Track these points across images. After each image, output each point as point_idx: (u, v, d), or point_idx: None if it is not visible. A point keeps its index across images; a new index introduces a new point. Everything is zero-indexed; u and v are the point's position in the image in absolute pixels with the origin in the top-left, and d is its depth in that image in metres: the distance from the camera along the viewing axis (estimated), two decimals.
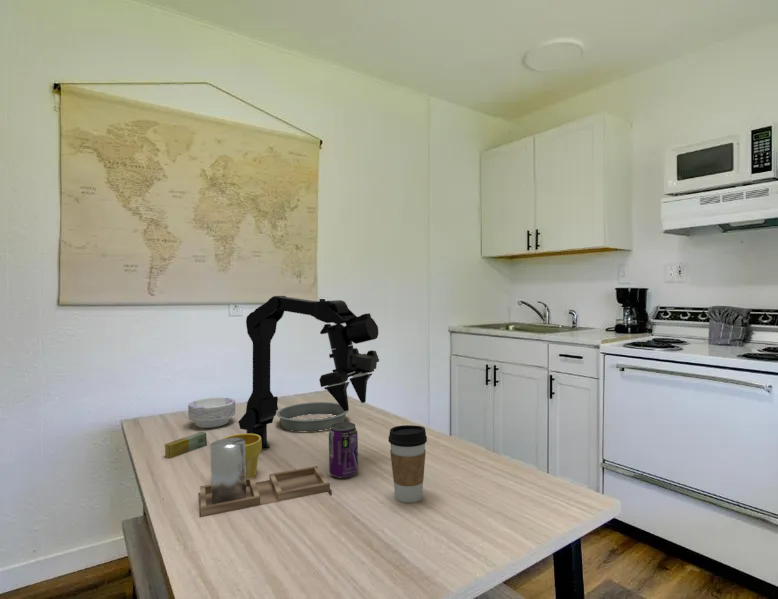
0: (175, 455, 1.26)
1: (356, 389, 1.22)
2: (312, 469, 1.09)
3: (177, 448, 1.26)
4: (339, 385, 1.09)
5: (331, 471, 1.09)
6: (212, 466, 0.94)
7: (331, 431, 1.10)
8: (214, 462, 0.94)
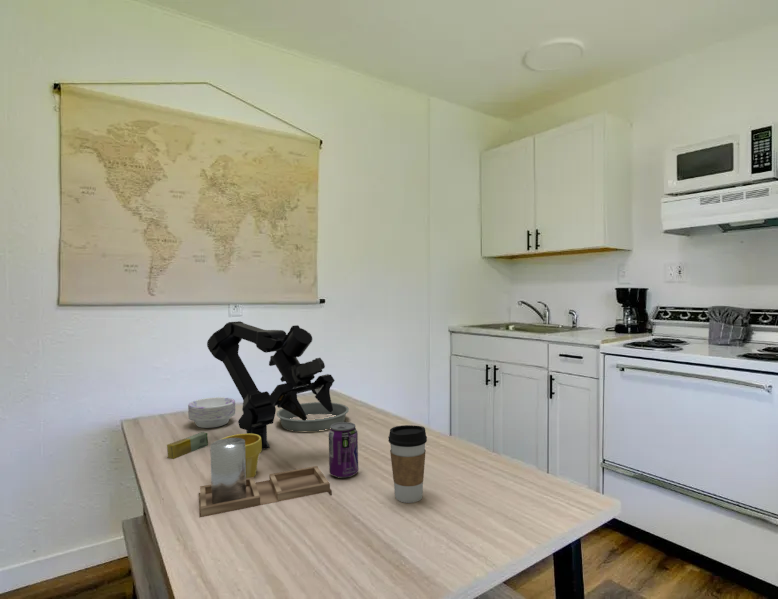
0: (178, 455, 1.25)
1: (322, 402, 1.22)
2: (312, 469, 1.09)
3: (180, 448, 1.26)
4: (285, 396, 1.12)
5: (331, 471, 1.09)
6: (212, 466, 0.94)
7: (331, 431, 1.10)
8: (214, 462, 0.94)
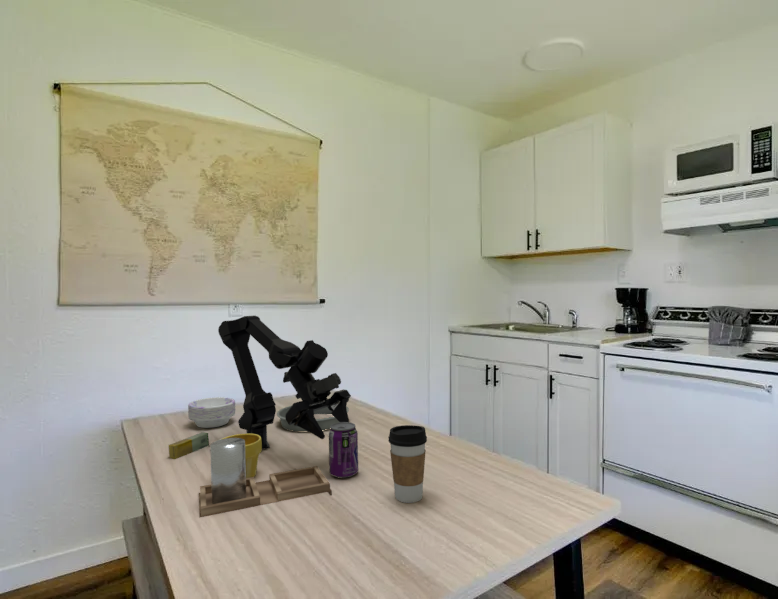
0: (179, 456, 1.25)
1: (339, 419, 1.18)
2: (312, 469, 1.09)
3: (181, 449, 1.26)
4: (302, 414, 1.08)
5: (331, 471, 1.09)
6: (212, 466, 0.94)
7: (331, 431, 1.10)
8: (214, 462, 0.94)
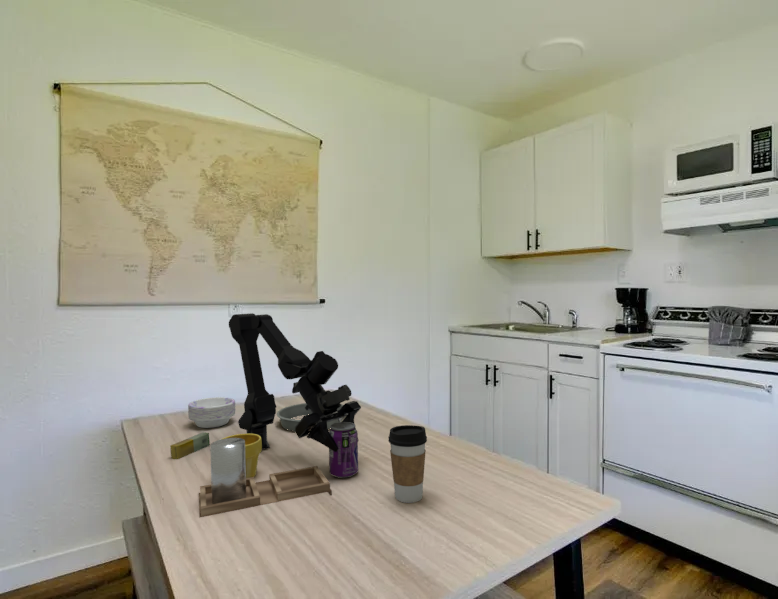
0: (181, 456, 1.25)
1: None
2: (312, 469, 1.09)
3: (183, 449, 1.26)
4: (315, 426, 1.07)
5: (331, 471, 1.09)
6: (212, 466, 0.94)
7: (331, 431, 1.10)
8: (214, 462, 0.94)
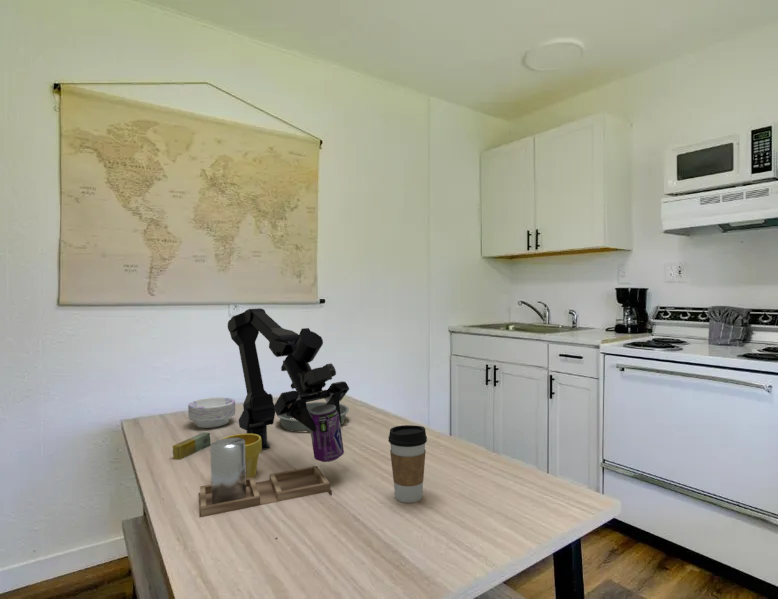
0: (184, 456, 1.25)
1: None
2: (312, 469, 1.09)
3: (186, 449, 1.25)
4: (293, 404, 1.04)
5: (314, 455, 1.06)
6: (212, 466, 0.94)
7: (310, 415, 1.06)
8: (214, 462, 0.94)
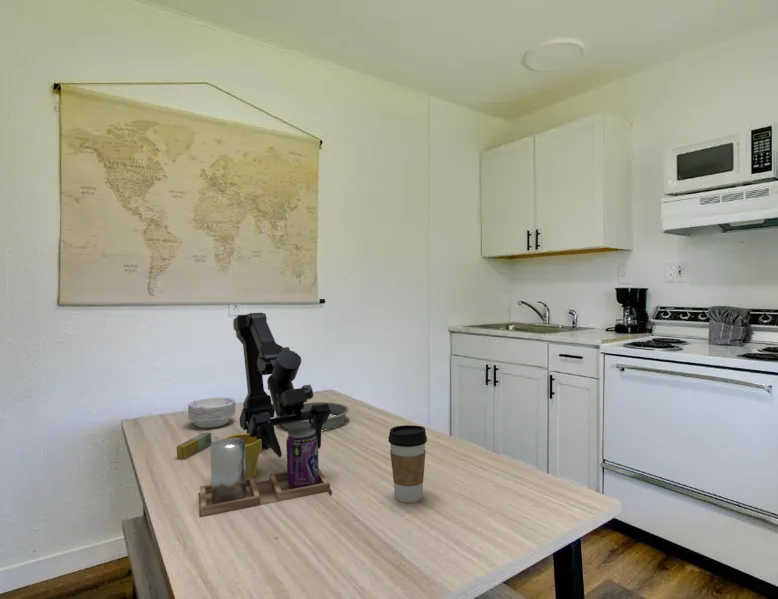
0: (188, 456, 1.25)
1: None
2: None
3: (190, 449, 1.25)
4: (259, 427, 1.00)
5: None
6: (212, 466, 0.94)
7: (288, 436, 1.03)
8: (214, 462, 0.94)
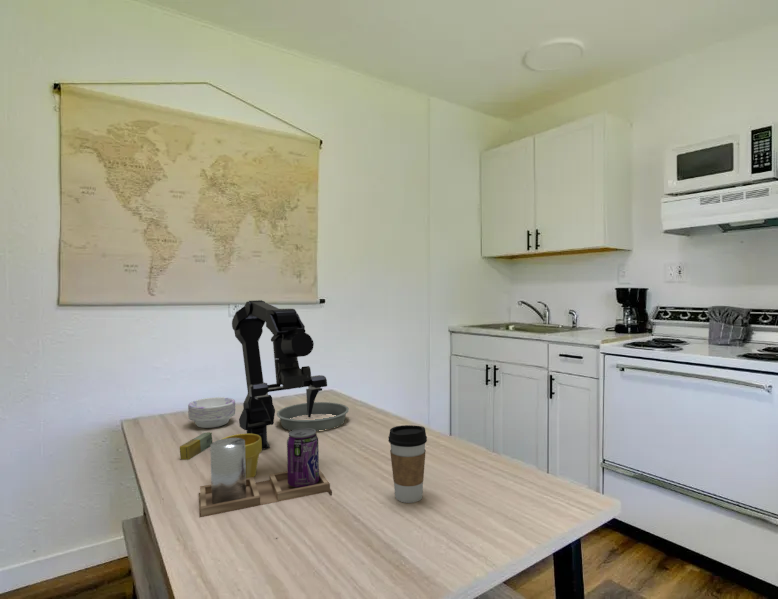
0: (191, 456, 1.25)
1: (307, 401, 1.17)
2: None
3: (193, 449, 1.25)
4: (257, 398, 1.09)
5: None
6: (212, 466, 0.94)
7: None
8: (214, 462, 0.94)
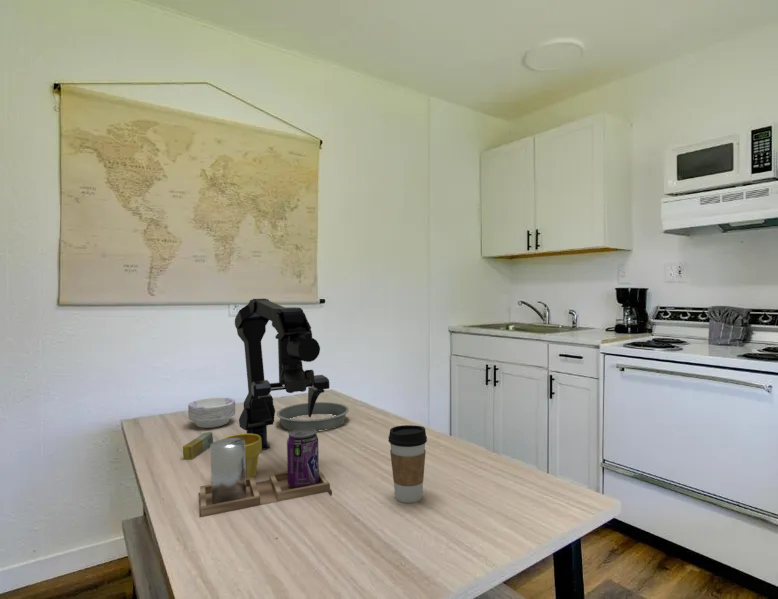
0: (195, 456, 1.25)
1: (308, 401, 1.17)
2: None
3: (196, 449, 1.25)
4: (259, 397, 1.09)
5: None
6: (212, 466, 0.94)
7: None
8: (214, 462, 0.94)
